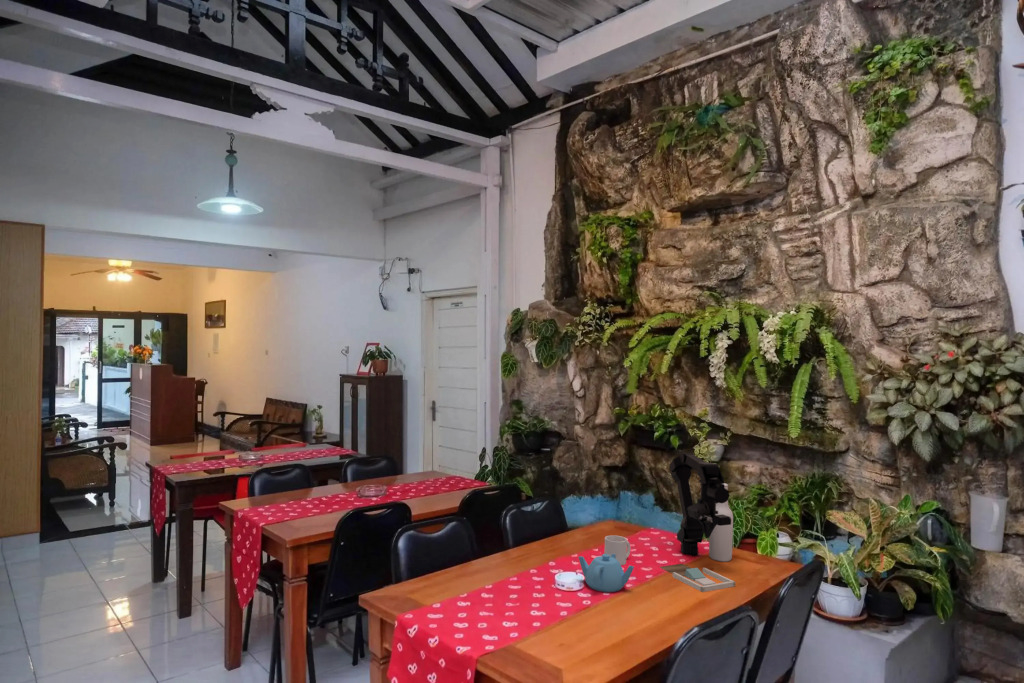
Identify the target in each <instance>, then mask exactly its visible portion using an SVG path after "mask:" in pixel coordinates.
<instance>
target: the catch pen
mask: <svg viewBox="0 0 1024 683" xmlns="http://www.w3.org/2000/svg"><path fill="white" fill-rule="evenodd" d="M701 572H702V573H703V574H705V575H708V576H709V577H712V578H714V579H716V580H718V581H720V583H716V584H712V585H706V586H703V585H701V584H699V583H697V582H695V581H693V580H691V579H690V578H688V577H686V576H681V575H679V574H677V573H675V572H673V574H672V577H673V578H674V579H675V580H678V581H680V582H681V583H684V584H685V585H688V586H690V587H692V588H693V589H695V590H697V591H699V592H701V593H705V592H710V591H711V592H712V591H717V590H722V589H727V588H733V587H736V581H734V580H732V579H730V578H728V577H726V576H723V575H721V574H719V573H718V572H715V571H712V570H711V569H708V568H706V567H702V571H701Z"/></svg>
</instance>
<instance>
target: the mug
mask: <svg viewBox="0 0 1024 683" xmlns="http://www.w3.org/2000/svg"><path fill="white" fill-rule="evenodd" d="M603 554H608V555H610V557H611V554H616V559H617V560H618V562H619V563H620V565H621V566H624V565H626V564H627V559H628V557H629V556H630V554H631V543H630V542H629V541H628V539H627V538H626V537H624V536H622V535H621V536H620V535H606V536H605V537H604V553H603Z"/></svg>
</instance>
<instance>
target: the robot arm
mask: <svg viewBox="0 0 1024 683" xmlns="http://www.w3.org/2000/svg"><path fill="white" fill-rule="evenodd" d="M668 467H669V472H670V474H671V478H672V479H673V480H674V481H675V482H676V485H677V491H678V496H679V502H680V507H681V513H682V520H681V523H680V529H679V531H678V532H677V533H676V540H677V541H679V542H680V552H681V554H683V555H685V556H690V557H698V555H699V547H698V546H699V544H700V543H702V542H703V538H704V537H705V538H706V539H709V537H710V535H711V533H712V531H713V529H714V528H715V526H716V525H719V526H723V525H731V518H730V517H729V516H726V515H715V514H718V511H716V503H725V502H726V501H727V500H728V501H729V498H730V492H729V490H728V489H725V488H724V483H725V481H724V480H725V477H724V476H723V474H722V470H721V468H720V466H719V465H718V464H717V463H713V462H708V461H707V462H706V461H705V460H703V459H702V458H700V457H698V456H696V455H695V454H694V453H692V452H683V453H680V455H679V456H677V457H675V458H674V459H673V460H672V461H671V462H670V464H669V466H668ZM692 470H695V471H697V476H698V477H699V478H700V479H699V480H698V483H700V498H697V500H696V501H697V503H694V502H693V496H692V492H691V486H690V485H691V484H690V479H691V477H692ZM698 543H699V544H698Z"/></svg>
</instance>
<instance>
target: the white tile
mask: <svg viewBox="0 0 1024 683" xmlns="http://www.w3.org/2000/svg"><path fill="white" fill-rule="evenodd" d="M694 582H695V583H697V584H699V585H701V586H706V585H712V584H717V583H716V582H715V581H714V580H711V579H710V578H708V577H706V578H700V579H695V581H694Z"/></svg>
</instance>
